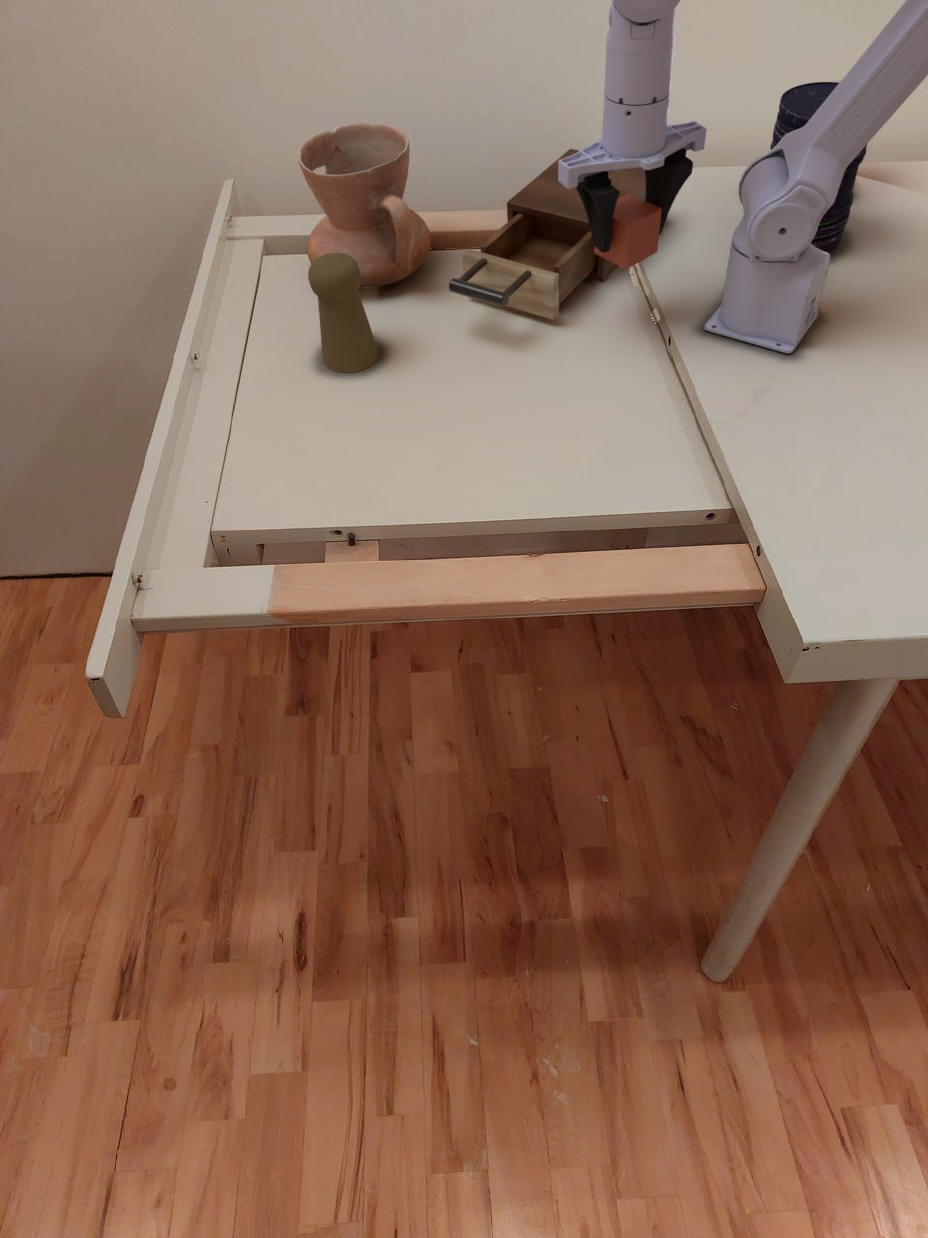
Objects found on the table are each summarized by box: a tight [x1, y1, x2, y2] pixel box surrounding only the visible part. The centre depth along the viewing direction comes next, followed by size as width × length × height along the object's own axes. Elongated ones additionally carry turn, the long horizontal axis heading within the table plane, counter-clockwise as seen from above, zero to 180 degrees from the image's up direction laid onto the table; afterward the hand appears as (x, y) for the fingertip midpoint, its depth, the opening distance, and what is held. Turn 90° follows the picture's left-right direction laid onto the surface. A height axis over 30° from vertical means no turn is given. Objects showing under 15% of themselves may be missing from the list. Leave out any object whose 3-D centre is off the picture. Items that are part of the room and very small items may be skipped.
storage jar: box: [769, 81, 868, 255], centre depth 99 cm, size 10×10×15 cm
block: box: [594, 194, 662, 270], centre depth 89 cm, size 4×4×4 cm
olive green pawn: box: [307, 253, 379, 374], centre depth 92 cm, size 6×6×11 cm
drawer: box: [448, 212, 598, 320], centre depth 98 cm, size 20×11×5 cm, turn 146°
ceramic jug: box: [297, 122, 432, 289], centre depth 102 cm, size 18×14×14 cm
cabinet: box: [506, 148, 646, 283], centre depth 105 cm, size 15×13×7 cm
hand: (626, 239), depth 89 cm, fingers closed on block, 5 cm apart
